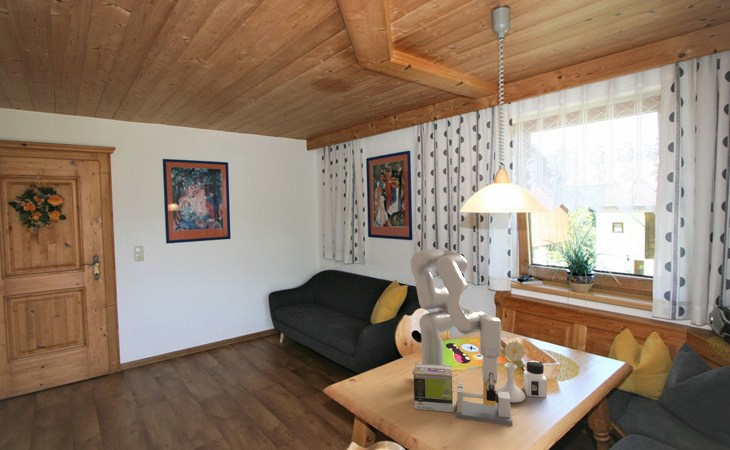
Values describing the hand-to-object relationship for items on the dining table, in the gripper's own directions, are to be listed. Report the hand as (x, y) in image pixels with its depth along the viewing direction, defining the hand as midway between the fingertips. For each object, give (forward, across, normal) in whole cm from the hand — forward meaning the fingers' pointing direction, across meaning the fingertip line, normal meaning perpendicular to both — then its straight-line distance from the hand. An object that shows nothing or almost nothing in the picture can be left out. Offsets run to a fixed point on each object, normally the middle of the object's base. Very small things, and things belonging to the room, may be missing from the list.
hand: (490, 394), depth 142 cm
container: (+8, -22, +19) cm, 31 cm away
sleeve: (+3, 0, 0) cm, 3 cm away
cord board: (+8, 0, -3) cm, 9 cm away
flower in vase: (+8, -14, +9) cm, 19 cm away
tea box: (+9, -2, -22) cm, 23 cm away
